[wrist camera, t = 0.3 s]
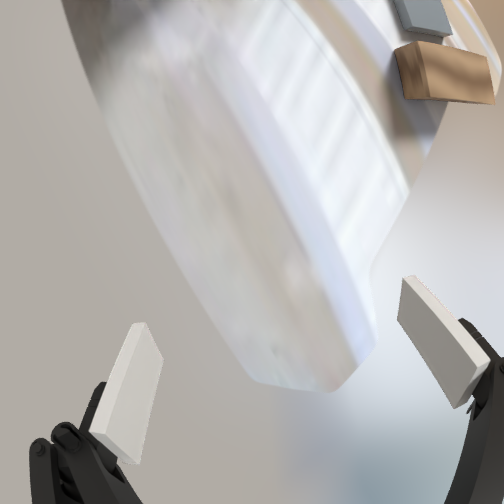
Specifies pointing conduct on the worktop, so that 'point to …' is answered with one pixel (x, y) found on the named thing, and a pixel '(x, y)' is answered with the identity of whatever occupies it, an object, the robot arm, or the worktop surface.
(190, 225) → the worktop surface
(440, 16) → the tile
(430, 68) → the tan wooden channel
